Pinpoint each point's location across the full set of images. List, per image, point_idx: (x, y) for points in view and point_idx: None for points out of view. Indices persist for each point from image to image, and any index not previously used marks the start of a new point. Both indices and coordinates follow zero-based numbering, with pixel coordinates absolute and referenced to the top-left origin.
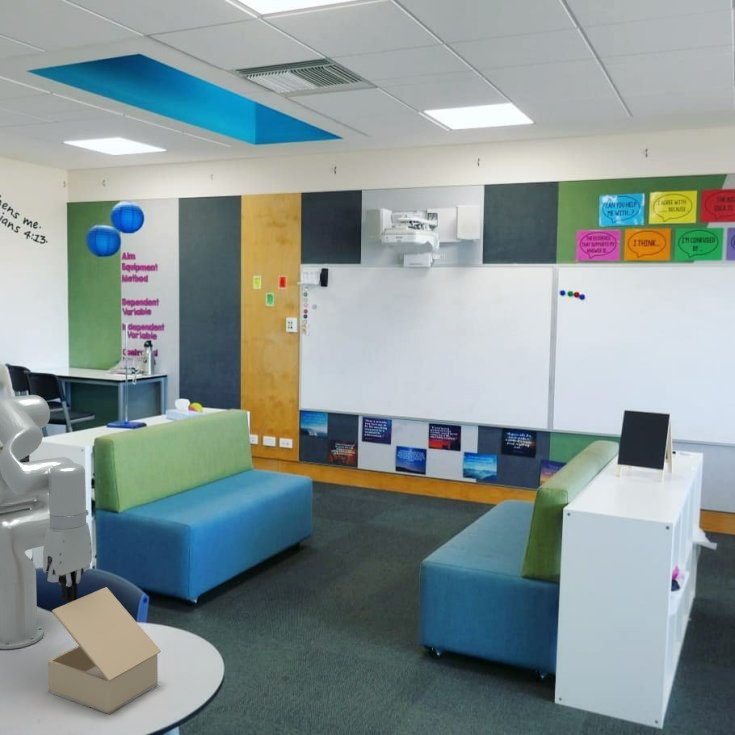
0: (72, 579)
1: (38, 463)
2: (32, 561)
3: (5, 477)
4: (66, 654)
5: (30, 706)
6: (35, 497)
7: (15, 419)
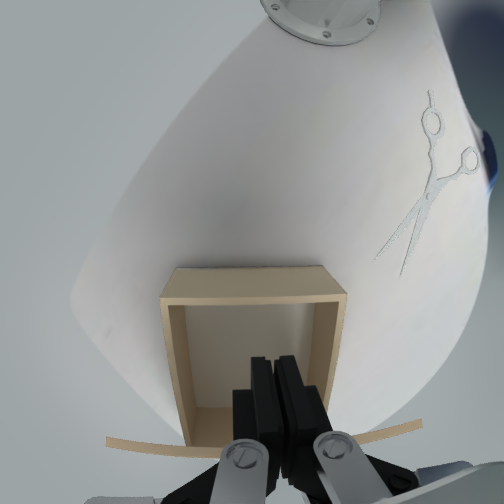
0: (308, 484)
1: None
2: None
3: None
4: (219, 303)
5: (122, 281)
6: None
7: None
